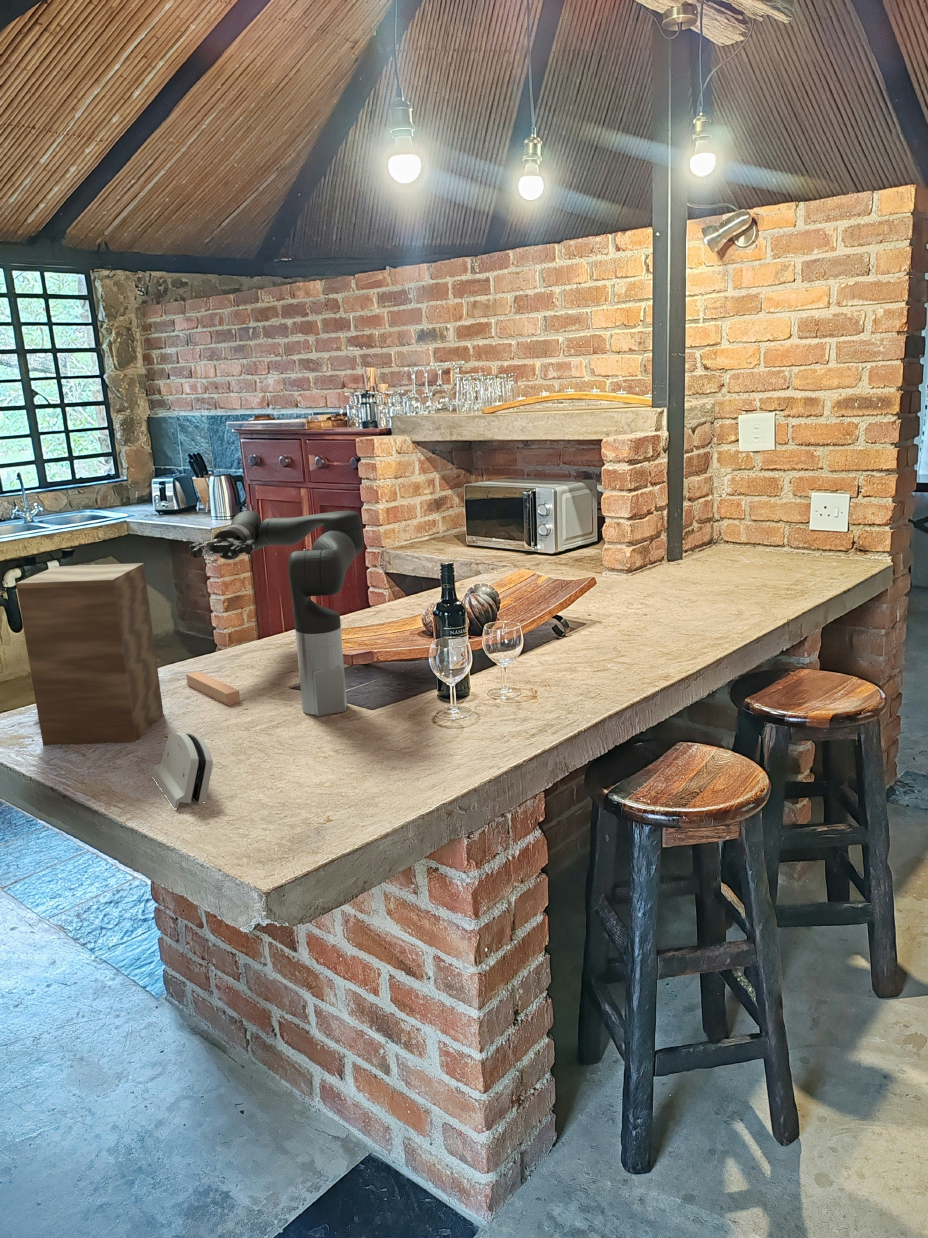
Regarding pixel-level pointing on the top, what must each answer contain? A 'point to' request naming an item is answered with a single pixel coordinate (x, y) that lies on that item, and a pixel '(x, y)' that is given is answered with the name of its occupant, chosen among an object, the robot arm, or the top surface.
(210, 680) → the tan block
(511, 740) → the top surface
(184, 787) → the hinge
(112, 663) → the pedestal
